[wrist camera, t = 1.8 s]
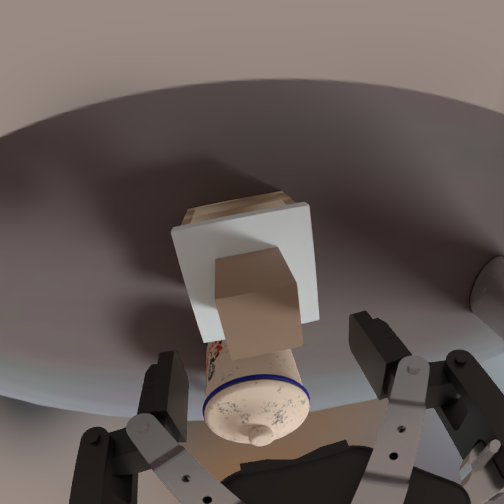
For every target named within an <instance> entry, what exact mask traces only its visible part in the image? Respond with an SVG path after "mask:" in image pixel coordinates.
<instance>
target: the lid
mask: <svg viewBox="0 0 504 504" xmlns="http://www.w3.org/2000/svg"><path fill="white" fill-rule="evenodd" d="M171 235H172V239H173V243H174V246H175V250H176V254H177V257H178V261H179V265H180V268H181V272H182V275H183V278H184V282H185V285H186V289H187V292H188V295H189V298H190V302H191V305H192V308H193V311H194V315H195V318H196V321H197V324H198V327H199V330H200V333H201V336H202V339H203V342H204V343H207V342H213V341H219V340H224V339H226V343H227V346H228V350H229V353H230V357H231V360H237V359H242V358H248V357H253V356H258V355H263V354H268V353H273V352H278V351H282V350H287V349H291V348H296V347H300V346H303V337H302V326H301V324H303V323H307V322H312V321H316V320H319V309H318V294H317V281H316V269H315V257H314V246H313V236H312V226H311V217H310V208H309V205H308V204H307V203H306V202H300V203H294V204H289V205H283V206H278V207H272V208H267V209H261V210H256V211H251V212H245V213H240V214H235V215H230V216H225V217H220V218H215V219H210V220H205V221H200V222H195V223H191V224H186V225H181V226H177V227H173V228H172V230H171Z"/></svg>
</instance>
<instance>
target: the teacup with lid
mask: <svg viewBox="0 0 504 504" xmlns="http://www.w3.org/2000/svg"><path fill="white" fill-rule="evenodd" d="M309 407H310V397H309V394H308V392H307V390H306V389H305V388H304V387H303V385H302V382H301V379H300V376H299V373H298V370H297V367H296V364H295V361H294V358H293V355H292V352H291V349H287V350H282V351H278V352H273V353H268V354H263V355H258V356H253V357H248V358H242V359H237V360H231V357H230V353H229V350H228V346H227V343H226V339H224V340H219V341H213V342H208V345H207V350H206V400H205V402H204V405H203V416H204V419H205V421H206V423H207V425H208V426H209V428H211V430H212V431H213V432H214V433H216V434H217V435H219V436H220V437H222V438H224V439H227V440H230V441H234V442H240V443H251V444H253V445H255V446H265V445H268V444H270V443H271V442H272V441H273V440H275V439H278V438H281V437H283V436H285V435H287V434H289V433H291V432H292V431H294V430H295V429H296V428H298V427H299V426H300V425H301V424H302V423H303V421H304V420H305V418H306V416H307V414H308V412H309Z"/></svg>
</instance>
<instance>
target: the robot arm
mask: <svg viewBox="0 0 504 504" xmlns="http://www.w3.org/2000/svg"><path fill="white" fill-rule="evenodd" d="M470 307H471V310H472V312H473V313H474V314H475V315H476V316H478V317H479V318H480V319H481V320H482V321H483V322H484V323H486V324H487V325H488V326H489V327H490V328H491V329H492V330H493V331H494V332H495V333H496V334H497V335H499V336H500V337H501V338H502V339H503V340H504V257H502V256H498V257H495V258H494V259H492V260H491V261H490V262H488V263H487V264H486V266H485V267H484V268H483V269H482V271H481V272H480V274H479V276H478V277H477V279H476V281H475V284H474V286H473V289H472V293H471V298H470ZM349 346H350V349H351V352H352V353H353V355H354V357H355V359H356V360H357V362H358V364H359V365H360V367H361V369H362V371H363V372H364V374H365V376H366V378H367V379H368V381H369V383H370V385H371V386H372V388H373V390H374V392H375V393H376V395H377V397H378V399H379V400H381V399H384V398H388V400H389V402H388V405H387V409H386V412H385V416H384V419H383V422H382V425H381V428H380V432H379V435H378V437H377V441H376V443H375V446H374V448H370V447H366V446H354V445H353V446H348V443H347V441H346V440H343V441H340V442H336V443H333V444H330V445H327V446H323V447H320V448H318V449H316V450H314V451H312V452H310V453H308V454H306V455H304V456H302V457H300V458H298V459H294V460H270V459H269V460H268V459H266V460H261V461H255V462H248V463H241V464H240V467H241V470H240V471H238V472H235V473H233V474H231V475H230V476H228V477H226V478H225V479H224V480H223V481H221V482H219V481H218V480H217V479H216V478H215V477H214V476H213V475H212V474H210V473H209V472H208V471H207V470H206V469H205V468H204V467H203V466H202V465H201V464H200V463H199V462H198V461H197V460H196V459H195V458H194V457H193V456H192V455H191V454H190V453H189V452H188V451H187V450H186V449H185V448H184V447H183V446H180V445H179V444H178V442H186V436H187V410H188V389H189V383H188V377H187V374H186V372H185V369H184V367H183V364H182V362H181V360H180V357H179V355H178V353H177V351H168V352H161V353H160V354H159V358H158V364H153V365H151V366H150V367H149V369H148V370H147V372H146V373H145V378H144V383H143V387H142V389H143V390H142V392H141V397H140V402H139V407H138V412H137V415H136V416H134V417H132V418H131V419H130V420H129V422H128V423H127V426H126V427H125V428H123V429H120V430H117V431H113V432H110V433H108V432H107V431H106V430H105V429H104V428H102V427H93V428H90V429H88V430H87V431H86V432H85V433H84V434H83V436H82V438H81V442H80V446H79V451H78V455H77V460H76V466H75V471H74V476H73V481H72V487H71V494H70V500H69V504H137V489H138V473H139V472H143V471H146V470H149V469H152V470H153V471H154V473H155V474H156V475H157V476H158V478H159V479H160V480H161V481H162V482H163V484H164V485H165V486H166V487H167V488H168V490H169V491H170V492H171V493H172V494H173V495H174V497H175V498H176V499H177V500H178V501H179V502H180V503H181V504H483V503H484V502H486V501H487V500H495V499H497V498H498V497H500V496H501V495H502V494H504V395H503V393H502V392H501V391H500V389H499V388H498V387H497V386H496V384H495V383H494V382H493V381H492V379H491V378H490V377H489V375H488V374H487V373H486V372H485V370H484V369H483V368H482V367H481V365H480V364H479V363H478V362H477V361H476V359H475V358H474V357H473V356H472V355H471V354H470V353H469V352H467V351H465V350H454V351H451V352H450V353H449V354H448V355H447V357H446V360H445V361H438V362H427V361H426V360H425V359H424V358H422V357H420V356H415V355H412V354H411V353H410V351H409V350H408V349H407V348H406V346H405V345H404V344H403V343H402V341H401V340H400V339H399V338H398V336H396V334H395V333H394V331H392V329H391V328H390V326H389V325H388V324H387V323H386V322H384V321H382V320H381V319H379V318H376V319H372V318H371V316H370V315H369V314H368V312H367V311H362V312H358V313H355V314H351V315H350V317H349ZM428 408H434V409H435V410H436V412H437V414H438V416H439V417H440V419H441V421H442V422H443V424H444V426H445V428H446V430H447V431H448V433H449V435H450V437H451V438H452V440H453V442H454V444H455V446H456V447H457V449H458V451H459V453H460V455H461V457H462V459H463V462H462V463H461V465H460V470H459V473H460V477H461V485H460V484H458V483H456V482H453V481H451V480H448V479H445V478H442V477H440V476H437V475H434V474H432V473H429V472H427V471H424V470H422V469H419V468H417V467H414V466H413V465H414V461H415V457H416V454H417V449H418V445H419V441H420V436H421V432H422V427H423V422H424V416H425V411H426V409H428Z"/></svg>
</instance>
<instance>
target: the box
mask: <svg viewBox="0 0 504 504" xmlns="http://www.w3.org/2000/svg"><path fill="white" fill-rule="evenodd" d="M294 203H296V202H295V201H294V200H292V199H291V198H290V197H289V196H288V195H287V194H285V193H284V192H283V191H278V192H272V193H267V194H261V195H256V196H250V197H245V198H240V199H234V200H229V201H224V202H219V203H214V204H209V205H205V206H200V207H195V208H190V209H187V212H186V214H185V216H184V219H183V221H182V224H181V225H186V224H191V223H195V222H200V221H205V220H210V219H215V218H220V217H225V216H230V215H235V214H240V213H245V212H251V211H256V210H261V209H267V208H272V207H278V206H283V205H289V204H294Z"/></svg>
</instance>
